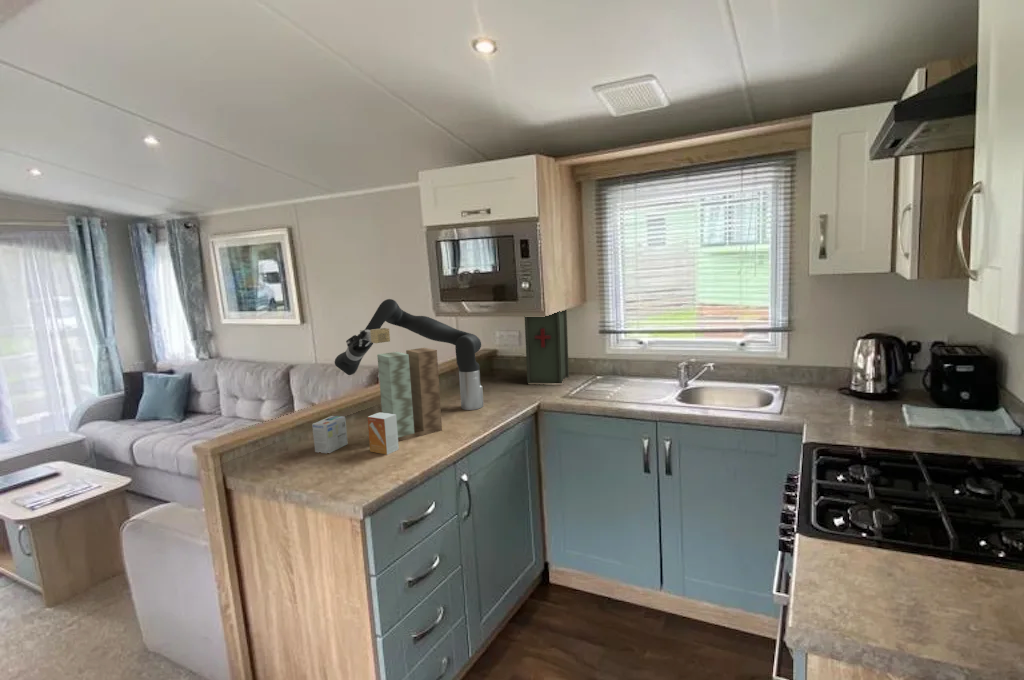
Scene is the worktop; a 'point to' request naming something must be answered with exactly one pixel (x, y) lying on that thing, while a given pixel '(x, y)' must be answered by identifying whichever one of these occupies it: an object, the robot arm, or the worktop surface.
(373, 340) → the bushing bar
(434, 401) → the green brown tall block
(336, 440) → the light bulb box
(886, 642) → the worktop surface
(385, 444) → the small box
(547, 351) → the first aid box
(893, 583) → the worktop surface
